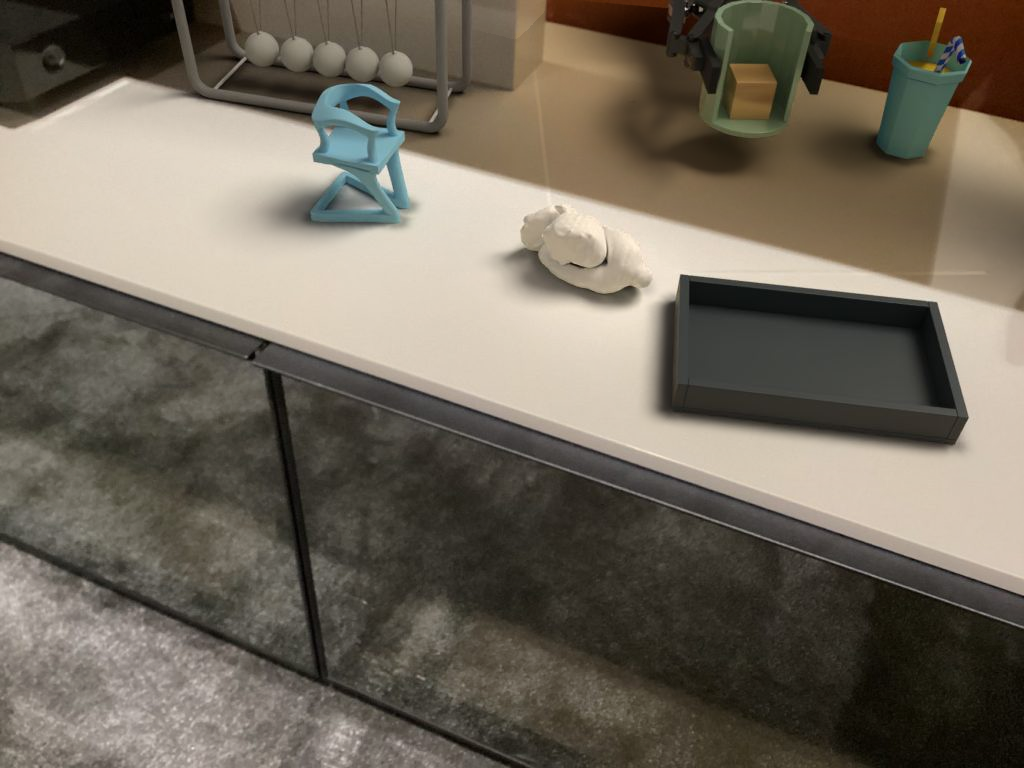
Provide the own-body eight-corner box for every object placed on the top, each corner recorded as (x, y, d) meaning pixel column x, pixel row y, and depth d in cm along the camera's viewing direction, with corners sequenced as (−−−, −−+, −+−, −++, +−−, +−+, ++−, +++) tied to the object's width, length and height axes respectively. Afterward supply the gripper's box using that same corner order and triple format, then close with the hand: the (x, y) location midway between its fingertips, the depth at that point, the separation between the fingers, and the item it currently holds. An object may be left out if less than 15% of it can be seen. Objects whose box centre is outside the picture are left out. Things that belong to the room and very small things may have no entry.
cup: (951, 193, 99) (1009, 54, 88) (874, 186, 99) (922, 47, 88) (925, 124, 108) (974, -8, 98) (856, 118, 109) (897, -14, 98)
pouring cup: (691, 92, 102) (707, -1, 95) (777, 93, 102) (799, 0, 95) (707, 138, 95) (725, 40, 88) (799, 138, 96) (824, 41, 89)
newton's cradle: (190, 97, 108) (153, -68, 96) (231, 56, 115) (202, -103, 103) (446, 137, 103) (443, -30, 91) (473, 92, 111) (473, -69, 98)
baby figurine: (662, 303, 85) (631, 262, 78) (538, 317, 90) (498, 280, 83) (664, 216, 88) (634, 169, 81) (543, 234, 93) (505, 191, 86)
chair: (390, 237, 90) (382, 122, 82) (309, 220, 92) (292, 106, 83) (419, 194, 96) (414, 81, 87) (342, 178, 97) (330, 66, 89)
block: (721, 99, 100) (729, 63, 97) (760, 100, 100) (768, 63, 97) (729, 119, 97) (737, 82, 94) (768, 119, 97) (777, 82, 94)
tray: (925, 329, 83) (937, 301, 81) (954, 445, 74) (969, 417, 71) (674, 301, 85) (680, 273, 83) (671, 411, 75) (677, 383, 73)
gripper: (809, 18, 110) (868, 117, 94) (619, 17, 110) (646, 116, 94) (826, -49, 105) (891, 44, 89) (626, -51, 104) (656, 42, 88)
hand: (765, 81), depth 91 cm, fingers closed on pouring cup, 9 cm apart
